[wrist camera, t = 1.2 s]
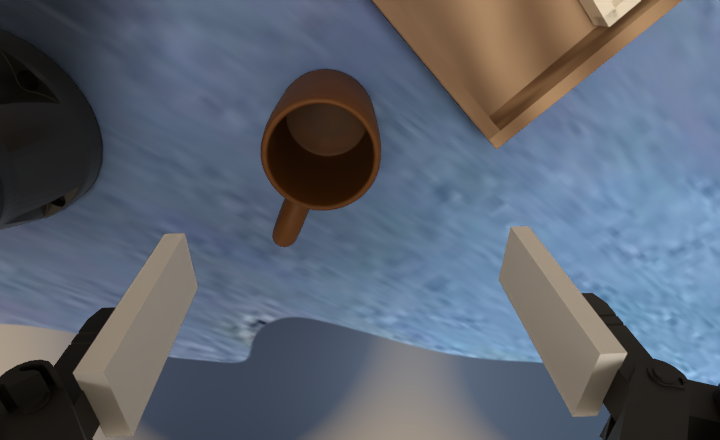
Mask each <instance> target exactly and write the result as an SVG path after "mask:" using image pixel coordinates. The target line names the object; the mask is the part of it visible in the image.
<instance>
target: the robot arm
mask: <svg viewBox="0 0 720 440" xmlns="http://www.w3.org/2000/svg"><path fill="white" fill-rule="evenodd" d="M101 160H102V143H101V136H100V132H99V128H98V125H97V122H96V119H95V117H94V114H93V112H92V110H91V108H90V106H89V104H88V102H87V101H86V99H85V97H84V96H83V94H82V93H81V91H80V90H79V89H78V87H77V86H76V85H75V83H74V82H73V81H72V80H71V79H70V78H69V76H68V75H67V74H66V73H65V72H64V71H63V70H62V69H61V68H60V67H59V66H58V65H57V64H56V63H55V62H53V61H52V60H51V59H50V58H49V57H47V56H46V55H45V54H44V53H42V52H41V51H40V50H38V49H37V48H35V47H34V46H32V45H31V44H29V43H27V42H26V41H24V40H22V39H20V38H18V37H16V36H14V35H12V34H10V33H8V32H6V31H3V30H0V230H2V229H5V228H9V227H13V226H17V225H20V224H24V223H28V222H31V221H35V220H39V219H43V218H46V217H49V216H52V215H54V214H56V213H58V212H60V211H62V210H64V209H65V208H67V207H68V206H69V205H71V204H72V203H73V202H75V201H76V200H77V199H78V198H80V197H81V196H82V195H83V194H84V193H86V192H87V191H88V189H89V188H90V187H91V186H92V184H93V183H94V181H95V179H96V177H97V175H98V172H99V169H100V165H101ZM499 281H500V283H501V285H502V287H503V289H504V291H505V292H506V294H507V296H508V298H509V300H510V302H511V303H512V305H513V307H514V309H515V311H516V313H517V315H518V316H519V318H520V320H521V322H522V324H523V326H524V328H525V329H526V331H527V333H528V335H529V337H530V339H531V340H532V342H533V344H534V346H535V348H536V350H537V352H538V353H539V355H540V357H541V359H542V361H543V363H544V364H545V366H546V368H547V370H548V372H549V374H550V376H551V377H552V379H553V381H554V383H555V385H556V386H557V388H558V390H559V392H560V394H561V396H562V397H563V399H564V401H565V403H566V405H567V407H568V409H569V411H570V412H571V414H572V416H573V417H577V416H597V415H598V413H599V411H600V409H601V407H602V404H603V403H604V405H605V406H606V408H607V409H608V411H609V413H610V414H611V415H610V417H609V419H608V421H607V423H606V425H605V427H604V429H603V431H602V433H601V435H600V437H601V438H603V440H720V384H719V385H718V386H714V385H710V384H705V383H701V382H696V381H691V380H688V379H687V378H686V377H685V375H684V374H683V373H681V372H680V371H679V370H678V369H676V368H675V367H673V366H672V365H670V364H668V363H666V362H663V361H660V360H657V359H653V358H652V357H651V356H650V355H649V353H648V352H647V351H646V350H645V349H644V347H643V346H642V345H641V344H640V343H639V341H638V340H637V339H636V338H635V337H634V335H633V334H632V333H631V332H630V331H629V329H628V328H627V327H626V326H624V325H623V322H622V321H621V320H620V319H619V317H618V316H616V314H615V313H614V311H613V310H612V309H611V308H610V307H609V305H608V304H607V303H606V302H604V301H603V300H602V299H600V298H599V297H597V296H596V295H594V294H593V293H580V291H579V290H578V289H577V288H576V286H575V285H574V284H573V282H572V281H571V280H570V279H569V277H568V276H567V275H566V273H565V272H564V271H563V270H562V268H561V267H560V266H559V264H558V263H557V262H556V261H555V259H554V258H553V257H552V255H551V254H550V253H549V252H548V250H547V249H546V248H545V246H544V245H543V244H542V243H541V241H540V240H539V239H538V237H537V236H536V235H535V234H534V232H533V231H532V230H531V228H530V227H529V226H528V227H511V228H510V232H509V237H508V241H507V245H506V250H505V254H504V259H503V263H502V267H501V272H500V276H499ZM197 289H198V286H197V281H196V277H195V273H194V269H193V265H192V261H191V257H190V253H189V249H188V245H187V240H186V236H185V233H175V234H164V236H163V237H162V239H161V240H160V242H159V243H158V245H157V246H156V248H155V249H154V251H153V252H152V254H151V255H150V257H149V259H148V260H147V262H146V263H145V265H144V266H143V268H142V269H141V271H140V272H139V274H138V275H137V277H136V278H135V280H134V281H133V283H132V284H131V286H130V287H129V289H128V290H127V292H126V293H125V295H124V296H123V298H122V299H121V301H120V302H119V304H118V305H117V307H116V308H102V309H100V310H99V311H98V312H96V313H95V314H94V315H93V316H91V317H90V318H89V319H88V320H87V321H86V322H85V324H84V325H83V327H82V328H81V329H80V331H79V334H77V335H76V336H75V338H74V339H73V340H72V342H71V345H69V346H68V348H67V349H66V350H65V352H64V353H63V354H62V356H61V357H60V358H59V360H58V361H57V363H56V364H55V365H54V367H53V365H52V364H51V363H50V362H49V361H44V360H34V361H28V362H25V363H23V364H20V365H17V366H15V367H14V368H12V369H10V370H8V371H6V372H5V373H4V374H3V375H2V376H1V377H0V440H93V439H92V438H93V436H94V434H95V432H96V431H97V429H98V427H99V425H100V427H101V429H102V431H103V433H104V435H105V437H120V436H133V434H134V432H135V430H136V427H137V425H138V423H139V420H140V418H141V416H142V414H143V411H144V409H145V407H146V404H147V402H148V400H149V398H150V396H151V393H152V391H153V389H154V387H155V384H156V382H157V380H158V377H159V375H160V373H161V371H162V368H163V366H164V364H165V362H166V359H167V357H168V355H169V352H170V350H171V348H172V346H173V343H174V341H175V339H176V337H177V334H178V332H179V330H180V327H181V325H182V323H183V321H184V318H185V316H186V314H187V312H188V309H189V307H190V305H191V302H192V300H193V298H194V296H195V293H196V291H197Z"/></svg>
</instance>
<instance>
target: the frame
mask: <svg viewBox="0 0 720 440" xmlns="http://www.w3.org/2000/svg"><path fill="white" fill-rule="evenodd" d="M371 1H372V2H373V3H374V5H375V6H376V7H377V8H378V9H379V11H380V12H381V13H382V14H383V15H384V17H385V18H386V19H387V20H388V21H389V23H390V24H391V25H392V26H393V27H394V29H395V30H396V31H397V32H398V33H399V35H400V36H401V37H402V38H403V39H404V40H405V42H406V43H407V44H408V45H409V46H410V48H411V49H412V50H413V51H414V52H415V54H416V55H417V56H418V57H419V58H420V60H421V61H422V62H423V63H424V64H425V66H426V67H427V68H428V69H429V70H430V72H431V73H432V74H433V75H434V76H435V78H436V79H437V80H438V81H439V82H440V84H441V85H442V86H443V87H444V88H445V90H446V91H447V92H448V93H449V94H450V96H451V97H452V98H453V99H454V100H455V102H456V103H457V104H458V105H459V106H460V108H461V109H462V110H463V111H464V112H465V114H466V115H467V116H468V117H469V118H470V120H471V121H472V122H473V123H474V124H475V126H476V127H477V128H478V129H479V130H480V132H481V133H482V134H483V135H484V136H485V137H486V138H487V139H488V140H489V142H490V143H491V144H492V145H493V146H494V147H495V148H496V149H498V148H499V147H500V146H502V145H503V144H504V143H505V142H507V141H508V140H509V139H510V138H511V137H513V136H514V135H515V134H516V133H518V132H519V131H520V130H521V129H523V128H524V127H525V126H526V125H528V124H529V123H530V122H531V121H533V120H534V119H535V118H536V117H538V116H539V115H540V114H541V113H543V112H544V111H545V110H546V109H548V108H549V107H550V106H551V105H553V104H554V103H555V102H556V101H558V100H559V99H560V98H561V97H563V96H564V95H565V94H566V93H567V92H569V91H570V90H571V89H572V88H574V87H575V86H576V85H577V84H579V83H580V82H581V81H582V80H584V79H585V78H586V77H587V76H589V75H590V74H591V73H592V72H594V71H595V70H596V69H597V68H599V67H600V66H601V65H602V64H604V63H605V62H606V61H607V60H609V59H610V58H611V57H612V56H614V55H615V54H616V53H617V52H619V51H620V50H621V49H622V48H623V47H625V46H626V45H627V44H628V43H630V42H631V41H632V40H633V39H635V38H636V37H637V36H638V35H640V34H641V33H642V32H643V31H645V30H646V29H647V28H648V27H650V26H651V25H652V24H653V23H655V22H656V21H657V20H658V19H660V18H661V17H662V16H663V15H665V14H666V13H667V12H668V11H670V10H671V9H672V8H673V7H675V6H676V5H677V4H678V3H679V2H681V1H682V0H641V1H640V2H639V3H638V4H636V5H635V6H634V7H633V8H632V9H630V10H629V11H628V12H627V13H626V14H624V15H623V16H622V17H621V18H620V19H618V20H617V21H616V22H615V23H614V24H612V25H611V26H610V27H605V26H599V25H594V24H593V23H592V21H591V19H590V18H589V16H588V14H587V13H586V11H585V9H584V8H583V6H582V4H581V3H580V1H579V0H371Z"/></svg>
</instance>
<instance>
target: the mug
mask: <svg viewBox="0 0 720 440" xmlns="http://www.w3.org/2000/svg"><path fill="white" fill-rule="evenodd" d="M380 160H381V141H380V134H379V129H378V124H377V120H376V116H375V112H374V108H373V105H372V102H371V99H370V97H369V95H368V94H367V92H366V90H365V89H364V88H363V87H362V85H360V84H359V83H358V82H357V81H356V80H355V79H353V78H352V77H350V76H349V75H347V74H345V73H342V72H339V71H335V70H328V69H323V70H315V71H312V72H308V73H306V74H304V75H302V76H301V77H299V78H297V79H296V80H295V81H294V82H293V83H292V84H291V85H290V86H289V87H288V88H287V90H286V91H285V93H284V94H283V96H282V97H281V99H280V101H279V102H278V104H277V105H276V107H275V109H274V110H273V112H272V114H271V116H270V118H269V120H268V122H267V124H266V128H265V131H264V134H263V138H262V142H261V161H262V165H263V169H264V172H265V174H266V176H267V178H268V180H269V181H270V183H271V184H272V186H273V187H274V188H275V189H276V190H277V191H278V192H279V193H280V194H281V195H282V196H283V197H285V199H284V202H283V204H282V207H281V210H280V212H279V215H278V218H277V221H276V224H275V227H274V230H273V236H272V237H273V240H274V242H275V243H276V244H277V245H279V246H281V247H288V246H290V245H292V244H293V243H294V242H295V240H296V239H297V237H298V235H299V233H300V231H301V228H302V226H303V224H304V221H305V219H306V216H307V214H308V211H309V209H312V210H333V209H338V208H341V207H344V206H347V205H349V204H351V203H353V202H354V201H356V200H357V199H359V198H360V197H361V196H363V195H364V194H365V193H366V192H367V190H368V189H369V188H370V187H371V185H372V184H373V182H374V180H375V178H376V176H377V174H378V170H379V167H380Z"/></svg>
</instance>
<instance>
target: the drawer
mask: <svg viewBox="0 0 720 440" xmlns="http://www.w3.org/2000/svg"><path fill="white" fill-rule="evenodd" d="M579 1H580V3H581V4H582V6H583V8H584V9H585V11H586V13H587V14H588V16H589V18H590V19H591V21H592V23H593V24H594V25H599V26H605V27H610V26H611V25H612V24H614V23H615V22H616V21H617V20H618V19H620V18H621V17H622V16H623V15H624V14H626V13H627V12H628V11H629V10H630V9H632V8H633V7H634V6H635V5H636V4H638V3H639V2H640V1H641V0H579Z"/></svg>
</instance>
